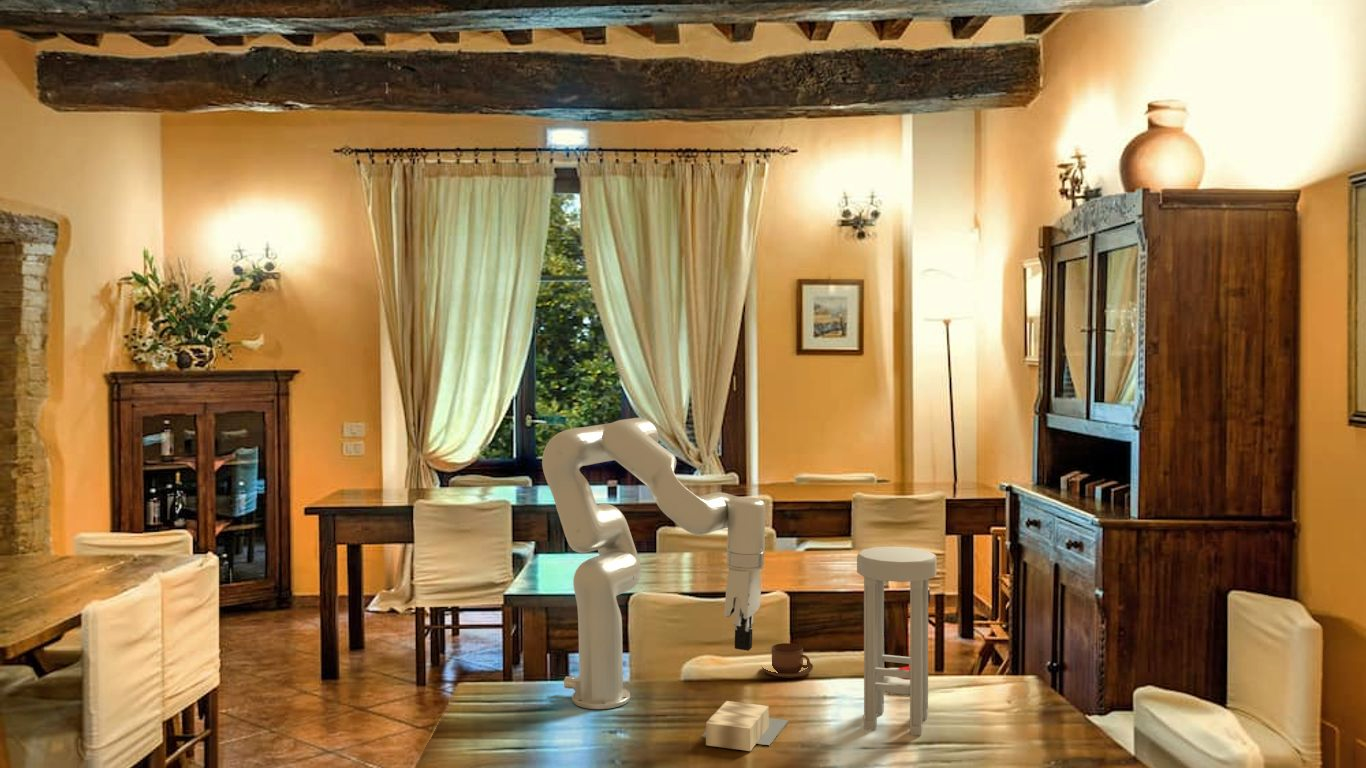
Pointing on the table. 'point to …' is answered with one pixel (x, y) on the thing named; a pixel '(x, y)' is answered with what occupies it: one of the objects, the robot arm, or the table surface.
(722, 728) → the slab
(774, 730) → the mat
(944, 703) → the table surface
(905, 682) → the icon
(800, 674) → the cup and saucer
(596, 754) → the table surface
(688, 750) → the table surface
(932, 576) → the stool
